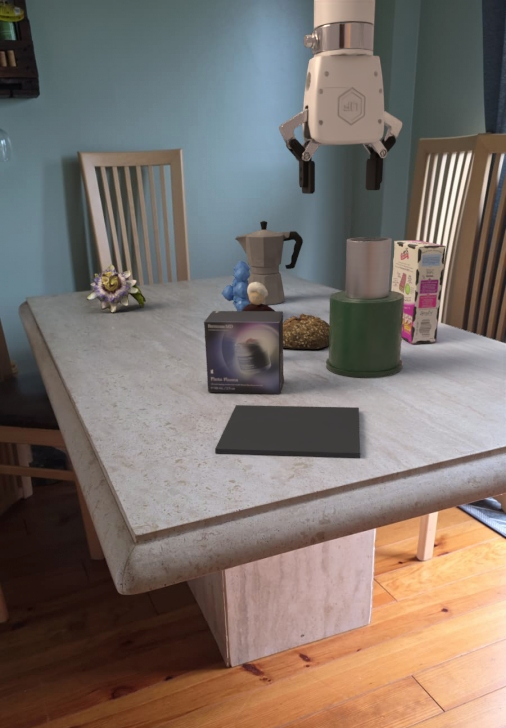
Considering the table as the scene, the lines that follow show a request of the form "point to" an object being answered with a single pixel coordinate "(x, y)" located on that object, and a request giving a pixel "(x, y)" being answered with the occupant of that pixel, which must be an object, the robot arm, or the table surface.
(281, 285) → the coffeepot
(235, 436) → the mat
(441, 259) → the candy bar box
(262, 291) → the grandmother figurine
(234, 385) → the small box
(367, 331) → the green flanged canister
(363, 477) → the table surface
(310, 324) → the bread roll
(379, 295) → the steel cup
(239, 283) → the grapes
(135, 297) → the passion flower
